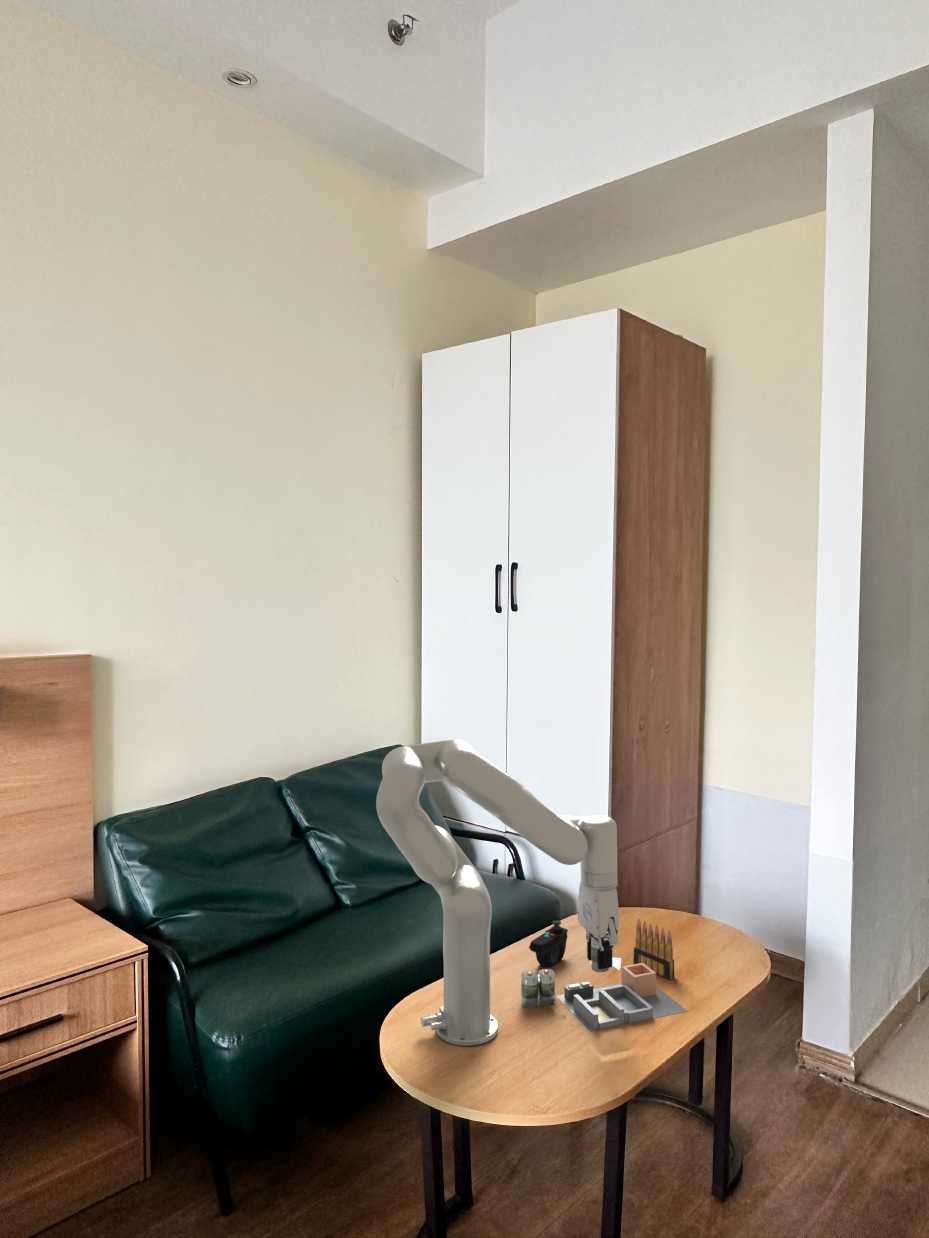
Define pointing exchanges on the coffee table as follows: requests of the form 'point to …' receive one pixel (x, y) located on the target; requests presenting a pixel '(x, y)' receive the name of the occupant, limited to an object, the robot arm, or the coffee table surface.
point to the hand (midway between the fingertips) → (599, 962)
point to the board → (615, 1005)
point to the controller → (550, 945)
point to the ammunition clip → (654, 950)
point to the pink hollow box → (639, 979)
